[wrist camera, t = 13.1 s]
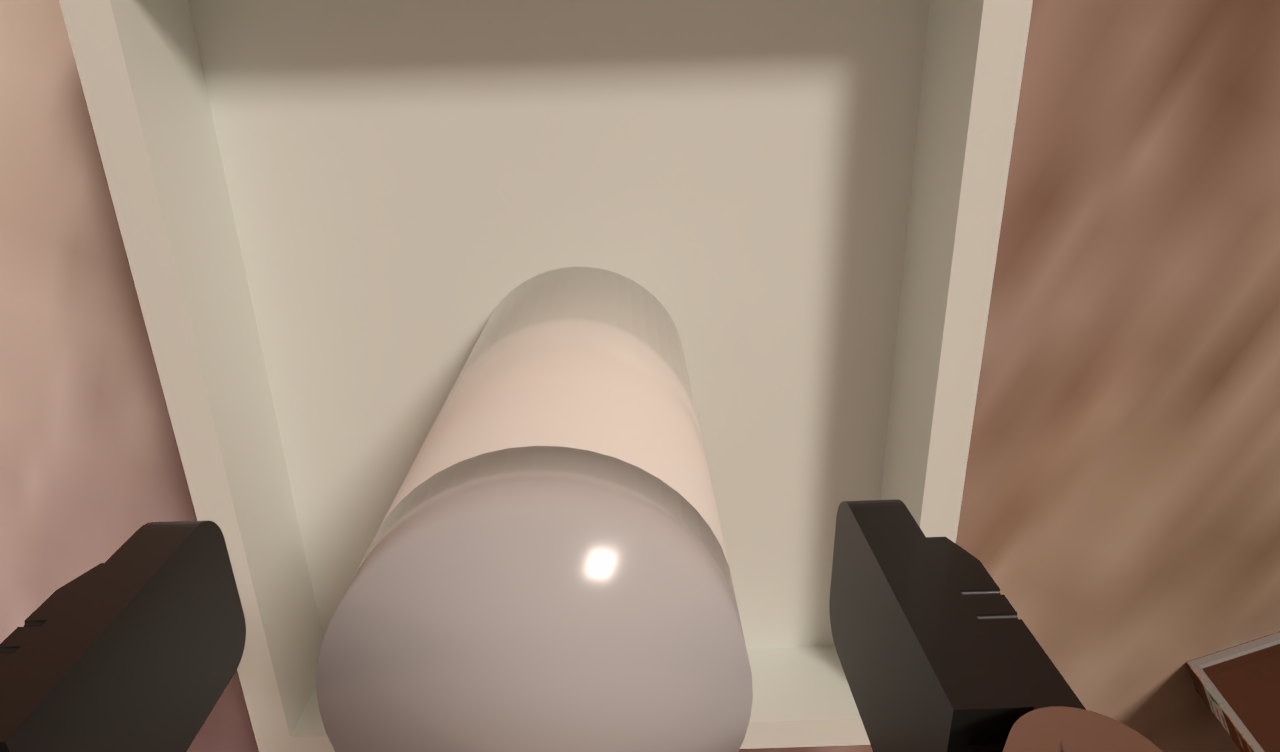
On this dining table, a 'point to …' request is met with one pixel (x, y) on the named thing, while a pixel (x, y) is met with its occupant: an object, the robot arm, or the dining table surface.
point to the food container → (1244, 691)
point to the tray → (558, 265)
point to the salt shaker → (549, 552)
